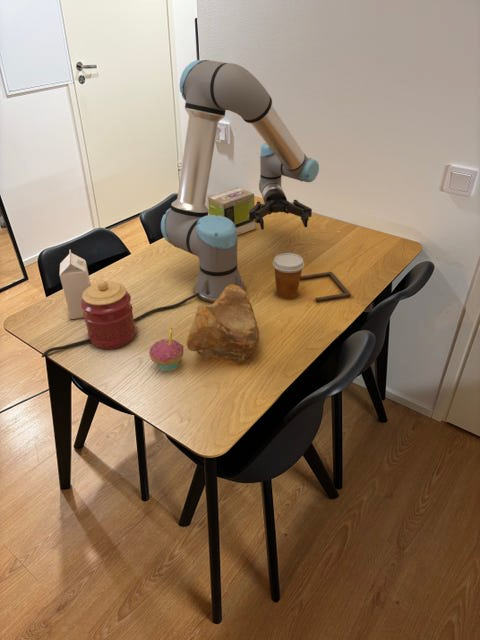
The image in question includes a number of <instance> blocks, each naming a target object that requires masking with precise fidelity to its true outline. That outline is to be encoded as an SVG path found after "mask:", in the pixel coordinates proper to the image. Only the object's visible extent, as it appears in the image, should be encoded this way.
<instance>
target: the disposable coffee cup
mask: <svg viewBox="0 0 480 640" xmlns="http://www.w3.org/2000/svg"><path fill="white" fill-rule="evenodd" d="M272 266H273V269H274V277H275V284H276V285H275V286H276V295H277V296H278V297H279V298H281V299H286V300H287V299H288V300H291V299H293V298H296V297H297V295H298V292H299V287H300V282H301V280H300V277H301V276H302V272H303V268H304V267H305V261H304V258H303V257H302V256H301V255H299V254H296V253H293V252H292V253H291V252H284V253H279V254H277V255H276V256H275V257H274V258H273V261H272Z"/></svg>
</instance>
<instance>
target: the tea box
mask: <svg viewBox="0 0 480 640" xmlns="http://www.w3.org/2000/svg"><path fill="white" fill-rule="evenodd" d="M207 200H208V201H207V203H208V210H209V212H208V215H215V216H218V215H219V216H223V217H226V218H228V219H230V220H231V221H232V222H233V223H234V224H235V226H236V233H237V236H240V235H243V234H245V233H247V232H250V231H253V230H255V229H256V223H255V219H253V220H249V212H250V211H251V210H252V208H253V207H254V206H255V193H254V192H250V191H248V190H245V189H243V188H241V187H235V188H232V189H229V190H226V191H223V192H219V193H217V194H214V195H210V196H207Z"/></svg>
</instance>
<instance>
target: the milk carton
mask: <svg viewBox="0 0 480 640" xmlns="http://www.w3.org/2000/svg"><path fill="white" fill-rule="evenodd" d="M59 279H60V283H61V286H62V290H63V294H64V298H65V302H66V305H67V309H68V313H69V318H70V320H75V319H80V318H81V319H83V318H84V317H83V312H84V310H83V309H82V307H81V301H82V299H83V298H82V294H83V292H84V291H85V290H86V289H87V288H88V287H90V286H91V285H92V283H91V280H90V279H91V278H90V274H89V270H88V265H87V261H86V260H85V259H84V258H82V257H80V256H78V255H77V254H74V253H73V252H72V251H71V249H69V253H68V255H66V257H65V258H64V259H63V260H62V261H61V262H60V264H59Z"/></svg>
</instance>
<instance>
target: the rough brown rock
mask: <svg viewBox="0 0 480 640" xmlns="http://www.w3.org/2000/svg"><path fill="white" fill-rule="evenodd" d="M248 296H249V295H248V294H247V292H246V291H245V290H244V288H243V289H241V288H240V287H239V286H237V285H234V284H231V285H228V286H227V287H226V288H225V289H224V291H223V292H222V293H221V295H220V297H219V298H218V299H217V300H216V301H215V302H214V303H211V304H209V305H207V304H204V303H203V304H202V303H201V304H200V305H199V306H197V309H196V311H195V315H194V317H193V321H192V324H191V326H190V329H189V332H188V335H187V338H186V347H187V350H189V351H190V352H196V353H197V354H198V356H199V357H200V358H201V359H202V360H204V359H206V360H209V359H211V358H212V357H214V358H215V357H216V358H218V359H222V360H229V361H232V362H233V363H238V364H241V363H244V362H245V361H246V360H248V358H249V356H251V354H252V353H253V352H254V351H255V350H256V349H257V346H258V344H259V340H260V331H259V326H258V322H257V318H256V315H255V312H254V309H253V306H252V304H251V303H252V302H250V298H249V297H248Z"/></svg>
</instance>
